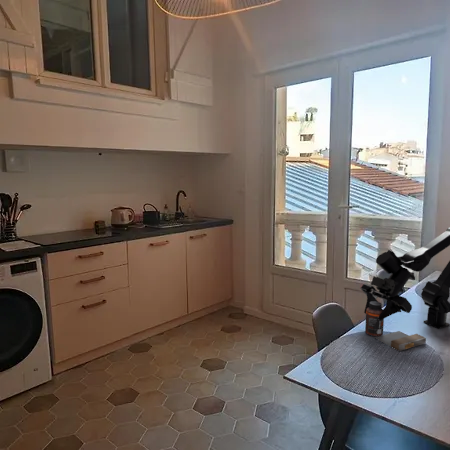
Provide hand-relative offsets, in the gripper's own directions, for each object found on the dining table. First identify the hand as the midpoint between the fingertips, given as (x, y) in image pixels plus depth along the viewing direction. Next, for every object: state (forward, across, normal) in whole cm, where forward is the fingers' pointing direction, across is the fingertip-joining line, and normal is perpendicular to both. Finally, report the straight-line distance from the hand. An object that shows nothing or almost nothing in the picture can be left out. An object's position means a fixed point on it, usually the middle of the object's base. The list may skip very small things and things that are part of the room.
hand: (371, 316), depth 133 cm
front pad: (+2, +6, +8) cm, 10 cm away
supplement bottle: (+4, 0, +6) cm, 7 cm away
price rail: (+2, +12, +8) cm, 14 cm away
